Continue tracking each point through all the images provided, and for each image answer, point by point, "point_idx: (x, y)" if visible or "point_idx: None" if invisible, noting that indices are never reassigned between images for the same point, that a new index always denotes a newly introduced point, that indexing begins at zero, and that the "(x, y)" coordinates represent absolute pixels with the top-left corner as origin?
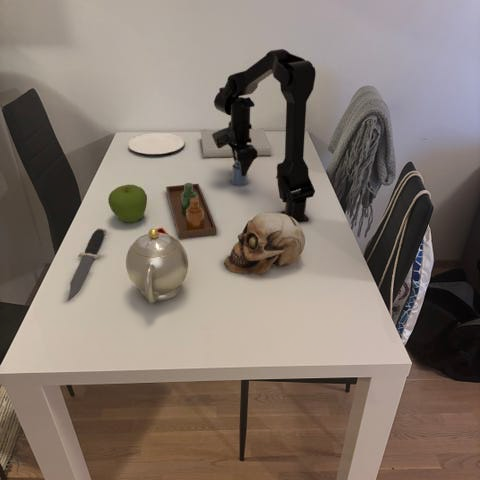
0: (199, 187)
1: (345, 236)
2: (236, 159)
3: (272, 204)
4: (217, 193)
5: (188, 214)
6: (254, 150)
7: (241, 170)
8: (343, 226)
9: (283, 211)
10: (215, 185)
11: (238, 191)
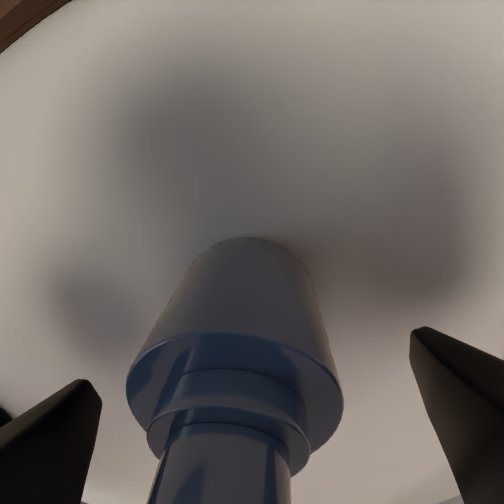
0: (16, 1)
1: None
2: (181, 484)
3: None
4: (43, 128)
5: None
6: None
7: (21, 415)
8: None
9: (4, 418)
10: (173, 79)
11: (89, 284)
